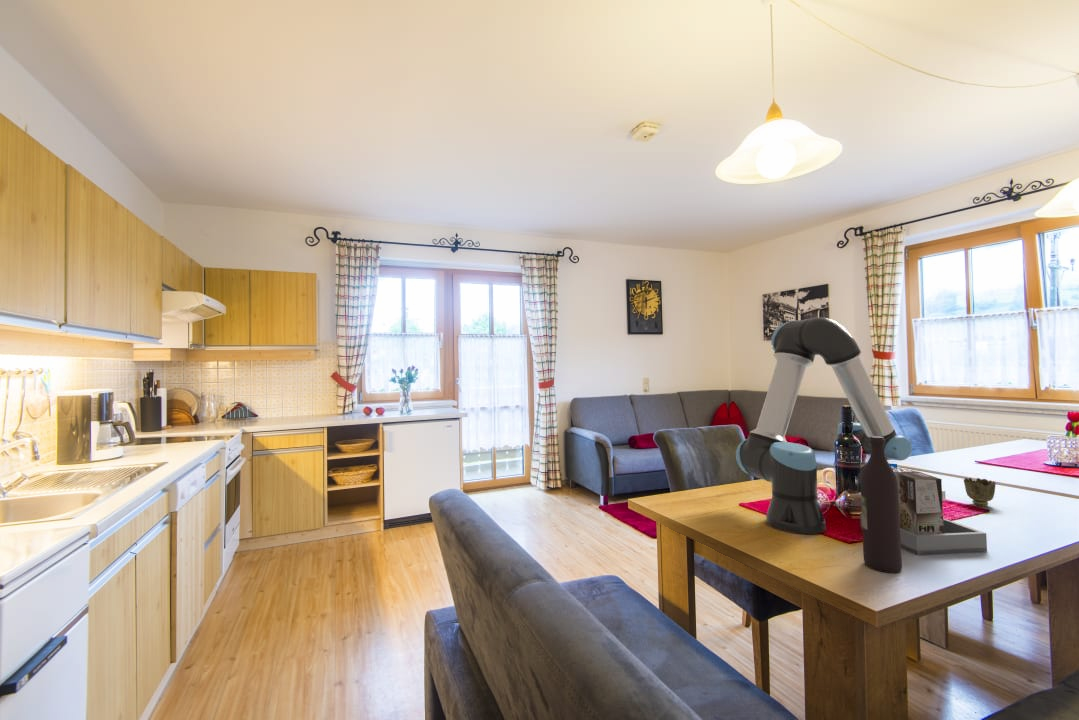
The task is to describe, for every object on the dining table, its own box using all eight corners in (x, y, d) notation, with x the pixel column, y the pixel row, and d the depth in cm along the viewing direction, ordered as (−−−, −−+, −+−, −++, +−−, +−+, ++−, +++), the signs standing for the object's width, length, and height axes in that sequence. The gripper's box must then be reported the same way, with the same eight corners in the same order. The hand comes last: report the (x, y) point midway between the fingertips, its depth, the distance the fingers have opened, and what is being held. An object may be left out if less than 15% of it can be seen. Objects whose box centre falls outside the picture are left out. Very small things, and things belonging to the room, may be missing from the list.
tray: (917, 555, 109) (916, 536, 109) (860, 528, 127) (860, 512, 127) (987, 551, 110) (986, 533, 110) (921, 526, 128) (920, 510, 128)
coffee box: (945, 542, 114) (943, 479, 114) (917, 541, 115) (914, 478, 115) (921, 529, 123) (919, 470, 123) (895, 529, 124) (892, 470, 124)
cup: (970, 507, 143) (969, 482, 143) (960, 500, 150) (959, 476, 150) (1001, 509, 140) (1000, 484, 140) (990, 503, 146) (989, 478, 147)
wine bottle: (882, 559, 108) (877, 434, 108) (910, 572, 101) (904, 438, 101) (856, 561, 107) (851, 435, 107) (882, 575, 100) (876, 440, 100)
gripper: (913, 488, 140) (968, 510, 119) (827, 488, 143) (865, 509, 122) (912, 464, 140) (967, 482, 119) (826, 464, 143) (864, 481, 122)
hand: (915, 495), depth 120 cm, fingers open, 13 cm apart
